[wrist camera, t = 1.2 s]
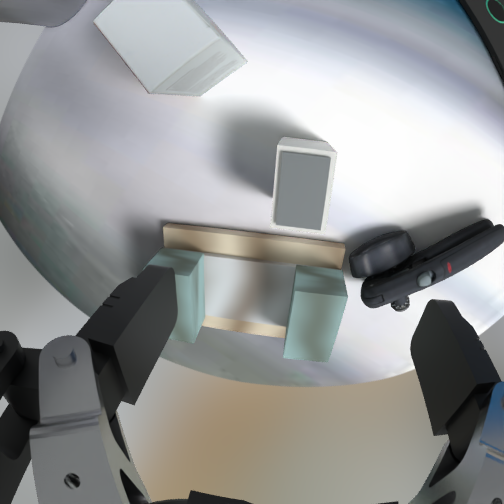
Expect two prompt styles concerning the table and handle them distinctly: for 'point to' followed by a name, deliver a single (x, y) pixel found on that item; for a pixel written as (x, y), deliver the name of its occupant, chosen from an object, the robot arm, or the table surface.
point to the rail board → (257, 286)
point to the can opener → (417, 262)
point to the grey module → (302, 185)
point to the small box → (169, 45)
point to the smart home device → (489, 26)
